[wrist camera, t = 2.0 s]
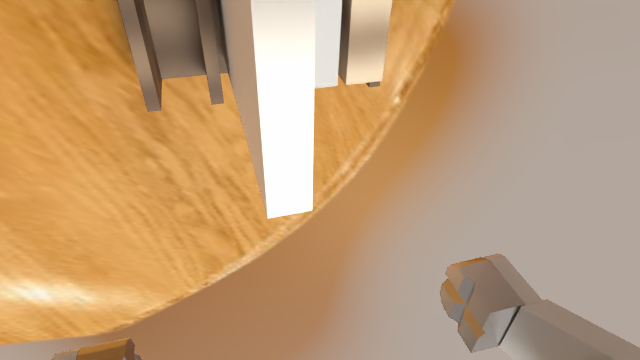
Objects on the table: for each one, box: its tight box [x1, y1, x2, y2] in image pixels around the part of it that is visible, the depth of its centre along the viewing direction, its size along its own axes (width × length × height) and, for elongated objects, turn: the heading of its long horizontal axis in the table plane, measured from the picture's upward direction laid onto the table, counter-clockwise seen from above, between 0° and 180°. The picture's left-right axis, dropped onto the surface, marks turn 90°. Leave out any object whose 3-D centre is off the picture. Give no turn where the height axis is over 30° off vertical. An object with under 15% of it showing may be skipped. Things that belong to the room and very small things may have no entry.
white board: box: [217, 0, 316, 218], centre depth 26 cm, size 12×2×22 cm, turn 178°
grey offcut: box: [314, 0, 342, 88], centre depth 31 cm, size 10×3×10 cm, turn 178°
